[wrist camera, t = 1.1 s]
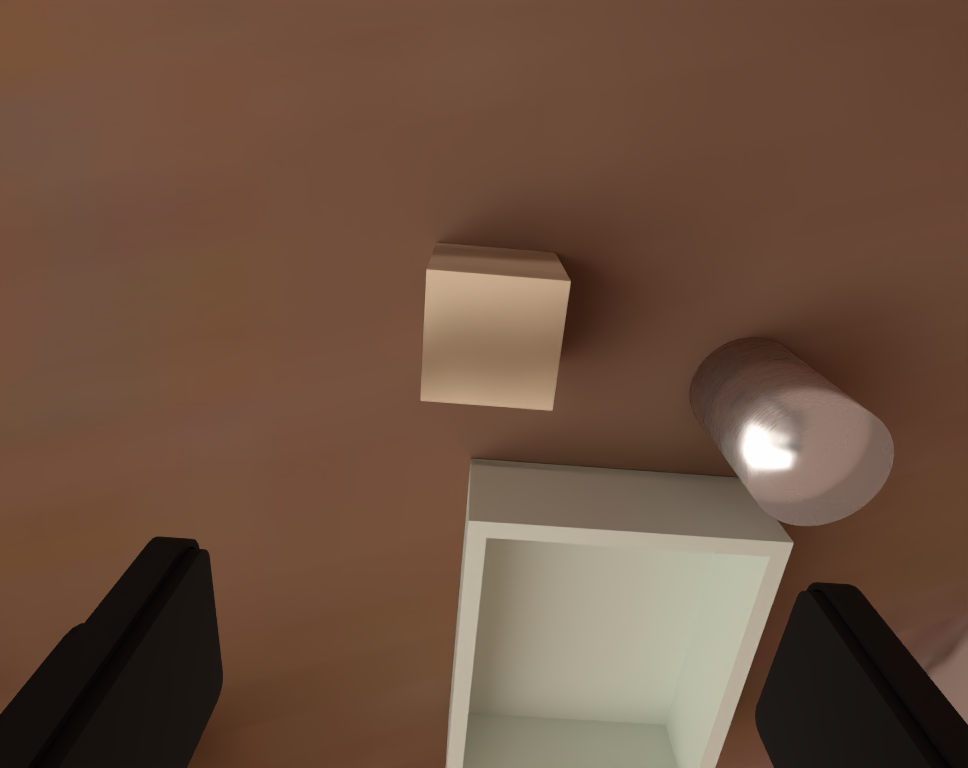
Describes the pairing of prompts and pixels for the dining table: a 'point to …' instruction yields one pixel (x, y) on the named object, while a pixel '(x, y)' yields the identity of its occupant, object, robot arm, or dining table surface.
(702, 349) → the dining table surface
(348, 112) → the dining table surface
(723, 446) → the steel cylinder
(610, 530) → the tote
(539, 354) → the maple cube
